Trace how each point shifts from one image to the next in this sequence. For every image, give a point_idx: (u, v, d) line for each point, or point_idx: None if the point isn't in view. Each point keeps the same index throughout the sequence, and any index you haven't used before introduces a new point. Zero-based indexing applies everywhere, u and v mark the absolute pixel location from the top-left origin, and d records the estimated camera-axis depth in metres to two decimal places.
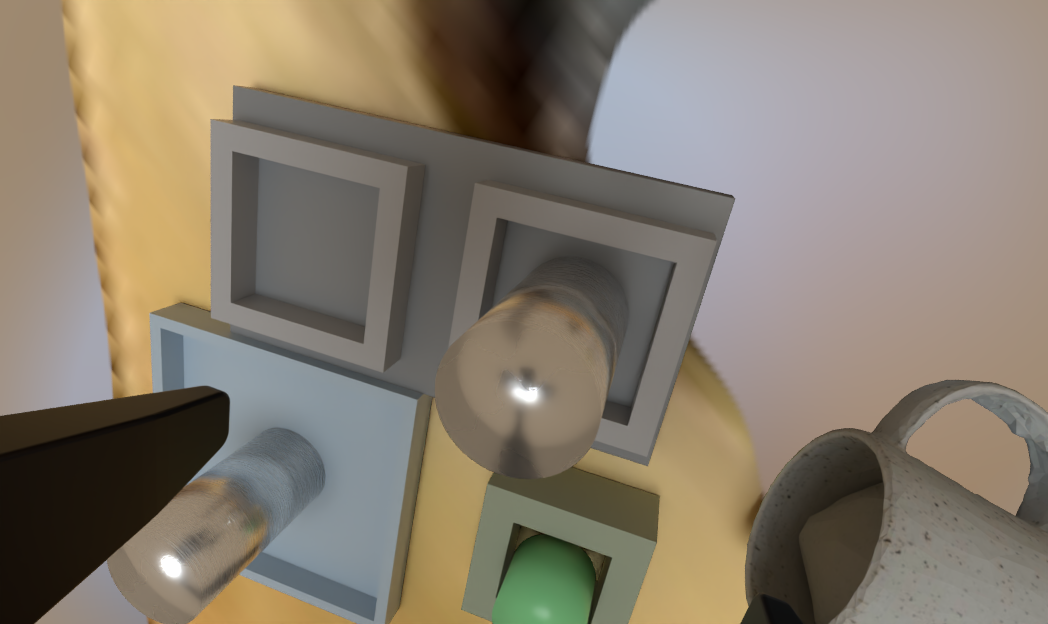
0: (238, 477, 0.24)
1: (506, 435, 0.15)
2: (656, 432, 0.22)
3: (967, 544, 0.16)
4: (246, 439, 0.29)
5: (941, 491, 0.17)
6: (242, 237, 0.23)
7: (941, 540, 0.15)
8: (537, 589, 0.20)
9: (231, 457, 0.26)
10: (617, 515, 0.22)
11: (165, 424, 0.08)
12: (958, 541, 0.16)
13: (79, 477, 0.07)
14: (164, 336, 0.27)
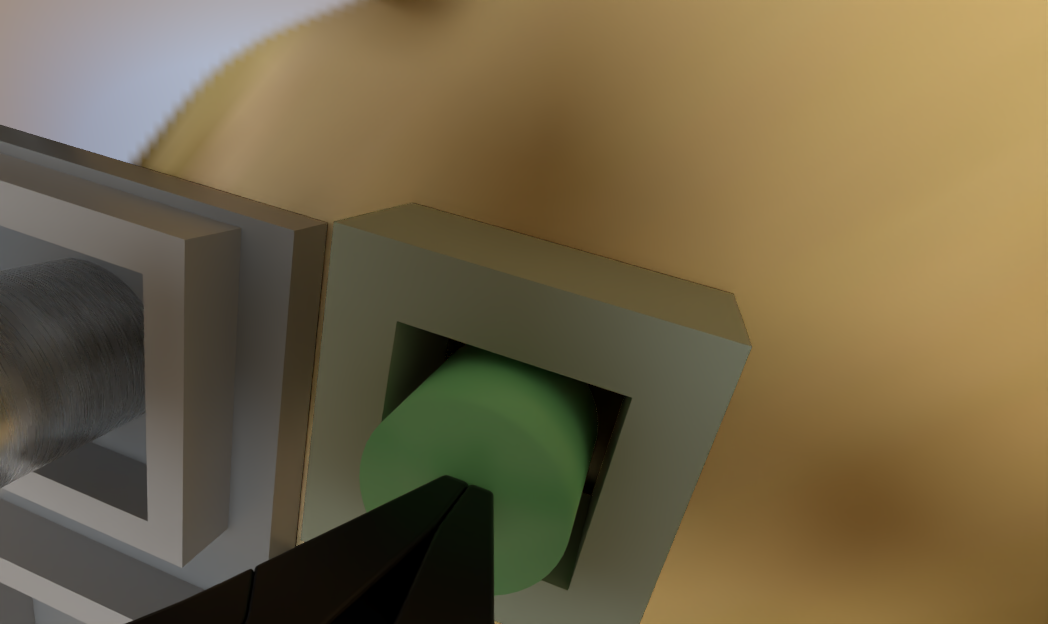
0: None
1: None
2: (231, 214, 0.12)
3: None
4: None
5: None
6: None
7: None
8: (360, 482, 0.09)
9: None
10: None
11: None
12: None
13: (383, 607, 0.06)
14: None
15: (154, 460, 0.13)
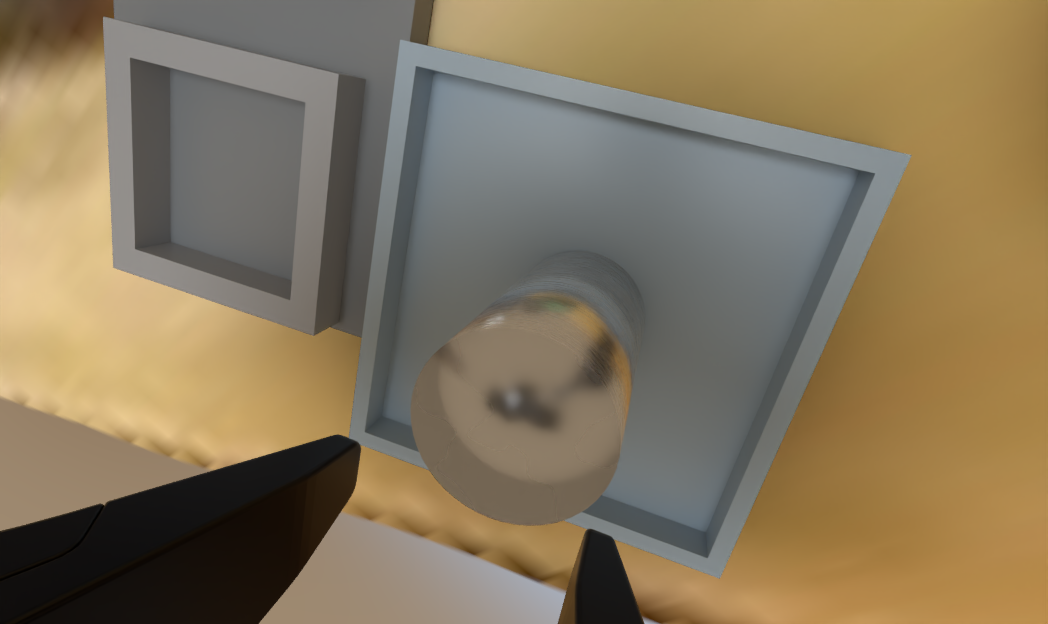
0: None
1: None
2: None
3: None
4: None
5: None
6: (234, 273, 0.20)
7: None
8: None
9: None
10: None
11: (314, 482, 0.08)
12: None
13: (244, 547, 0.07)
14: (380, 434, 0.21)
15: None
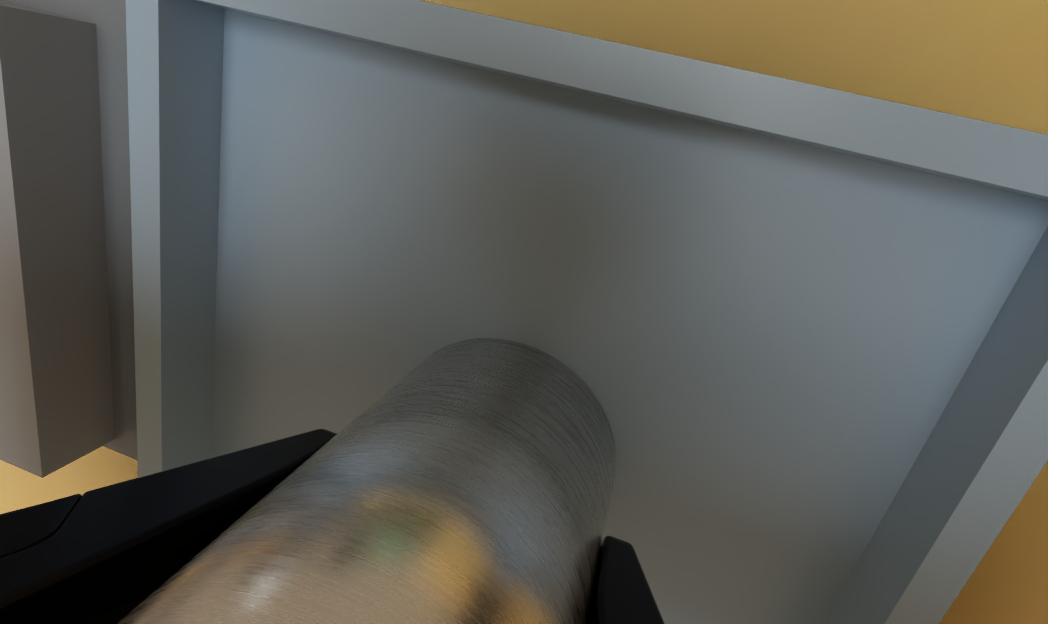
0: None
1: None
2: None
3: None
4: None
5: None
6: None
7: None
8: None
9: None
10: None
11: None
12: None
13: None
14: None
15: None
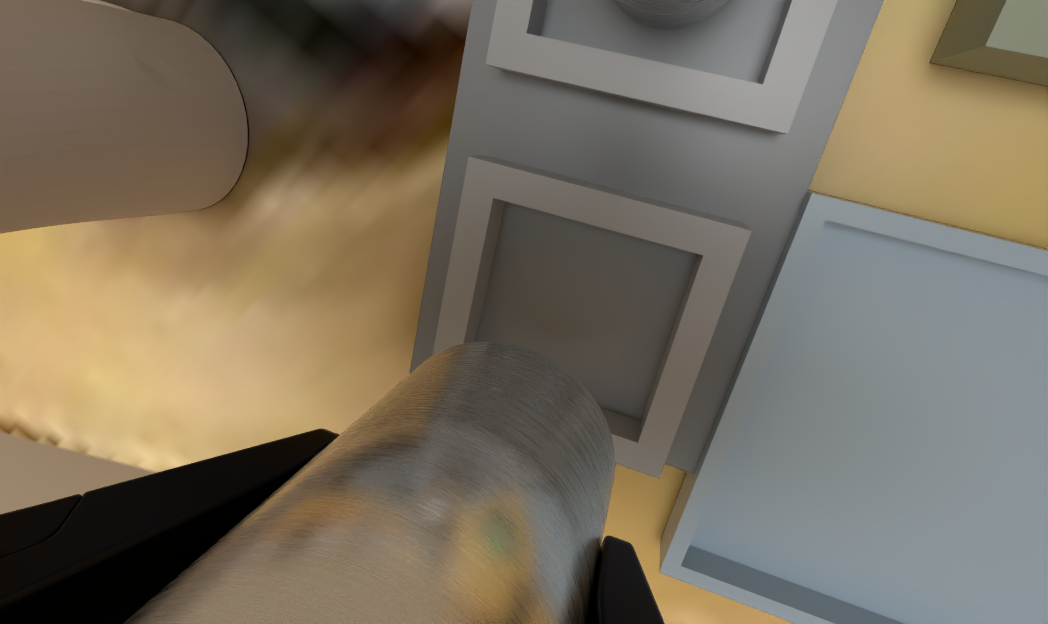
0: None
1: None
2: None
3: None
4: (882, 514, 0.19)
5: None
6: None
7: None
8: None
9: None
10: None
11: None
12: None
13: None
14: (695, 567, 0.20)
15: (800, 4, 0.13)
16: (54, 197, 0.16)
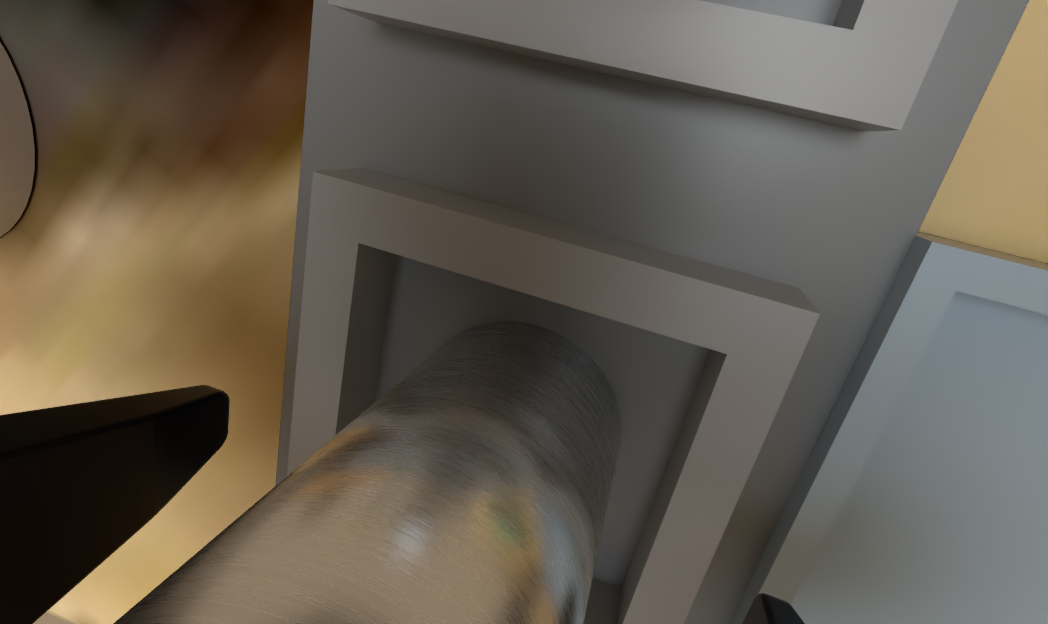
0: None
1: None
2: None
3: None
4: None
5: None
6: None
7: None
8: None
9: None
10: None
11: (164, 423, 0.08)
12: None
13: (78, 476, 0.07)
14: None
15: None
16: None
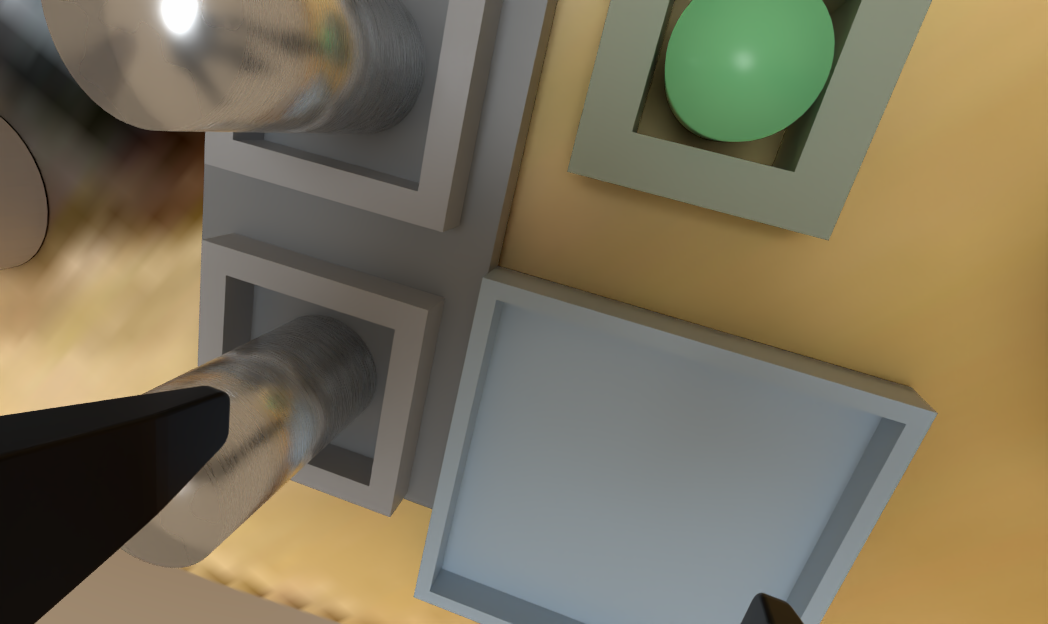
0: None
1: (184, 16, 0.10)
2: None
3: None
4: (594, 544, 0.22)
5: None
6: None
7: None
8: (666, 57, 0.13)
9: None
10: None
11: (165, 424, 0.08)
12: None
13: (79, 477, 0.07)
14: (444, 592, 0.23)
15: (435, 128, 0.16)
16: None
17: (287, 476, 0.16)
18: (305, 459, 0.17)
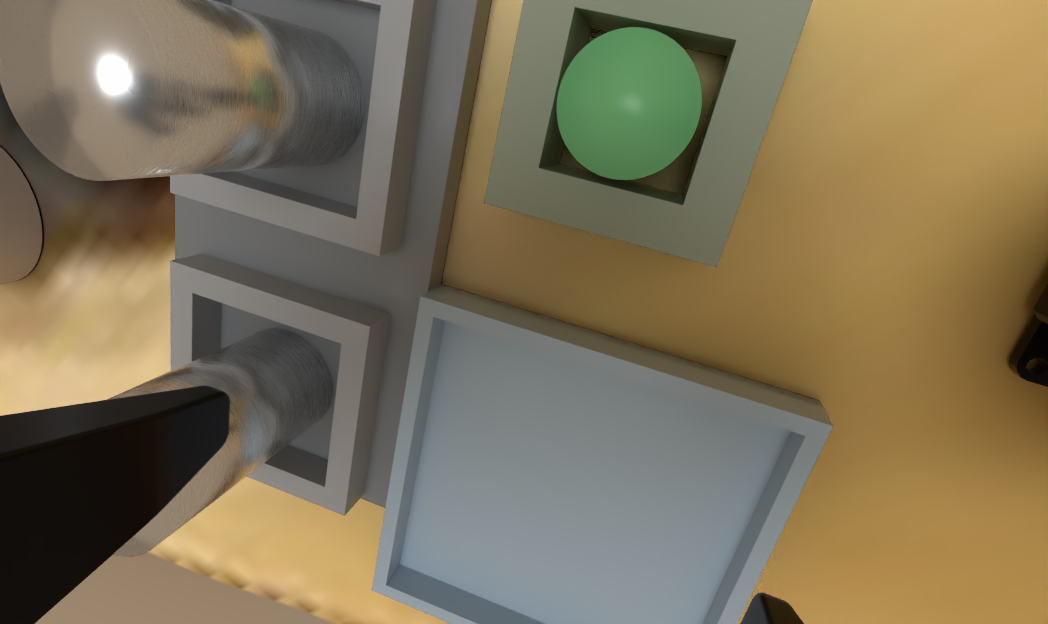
0: None
1: (112, 86, 0.12)
2: None
3: None
4: (536, 543, 0.23)
5: None
6: (275, 455, 0.23)
7: None
8: (557, 105, 0.14)
9: None
10: None
11: (165, 424, 0.08)
12: None
13: (79, 477, 0.07)
14: (399, 586, 0.24)
15: (369, 163, 0.18)
16: None
17: (235, 477, 0.18)
18: (255, 461, 0.19)
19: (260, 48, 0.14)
